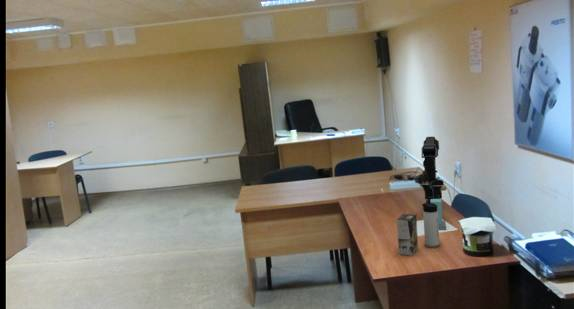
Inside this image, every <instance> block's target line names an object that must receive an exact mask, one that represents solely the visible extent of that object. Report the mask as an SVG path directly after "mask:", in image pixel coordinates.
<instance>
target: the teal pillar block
mask: <svg viewBox="0 0 574 309" xmlns="http://www.w3.org/2000/svg"><path fill="white" fill-rule="evenodd" d="M430 202H431V203H433V204H435V205H437V209H438V225H443V222H442V220H443V202H442V198H441V199H430Z"/></svg>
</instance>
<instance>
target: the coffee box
mask: <svg viewBox="0 0 574 309" xmlns="http://www.w3.org/2000/svg"><path fill="white" fill-rule="evenodd" d="M417 221H418V220H417V214H414V213H413V214H411V213H402V214H401V215H400V216H399V217H398V218H397V219H396V224H397V225H396V226H397V227H396V228H397V229H396V230H397V242H398V243H397V244H398V254H399V255H404V256H405V255H406V256H414V254H415V252H417V251H418V249H419V242H418V240H419V239H418V236H417Z"/></svg>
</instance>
